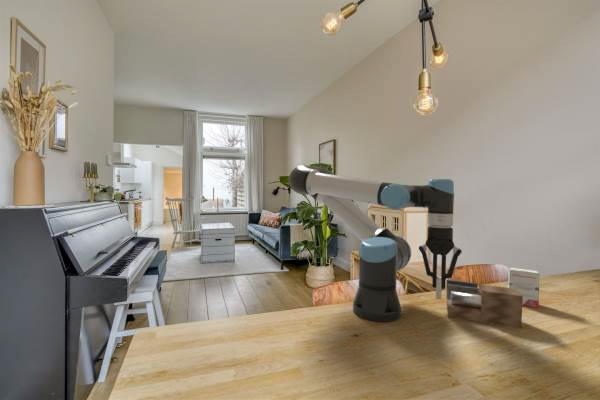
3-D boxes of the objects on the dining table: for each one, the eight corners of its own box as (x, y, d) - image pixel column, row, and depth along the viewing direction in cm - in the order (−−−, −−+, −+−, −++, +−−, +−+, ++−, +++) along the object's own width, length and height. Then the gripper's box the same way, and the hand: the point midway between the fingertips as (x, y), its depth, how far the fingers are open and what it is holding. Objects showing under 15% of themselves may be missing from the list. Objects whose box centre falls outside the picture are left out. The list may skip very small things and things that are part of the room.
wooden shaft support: (447, 316, 92) (448, 286, 92) (446, 308, 99) (447, 280, 98) (521, 328, 85) (522, 296, 84) (514, 319, 91) (516, 288, 91)
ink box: (536, 303, 104) (538, 270, 104) (538, 308, 100) (540, 273, 100) (507, 298, 109) (508, 266, 109) (507, 302, 105) (509, 269, 104)
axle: (451, 305, 93) (451, 293, 93) (450, 301, 97) (450, 289, 97) (520, 316, 86) (520, 302, 86) (516, 311, 90) (517, 298, 89)
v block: (447, 301, 105) (447, 284, 105) (446, 295, 111) (446, 279, 111) (479, 306, 101) (480, 289, 101) (476, 299, 107) (477, 283, 107)
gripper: (418, 226, 95) (416, 298, 96) (464, 228, 90) (462, 305, 90) (419, 224, 102) (417, 291, 103) (461, 226, 97) (459, 297, 97)
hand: (438, 297), depth 96 cm, fingers closed
